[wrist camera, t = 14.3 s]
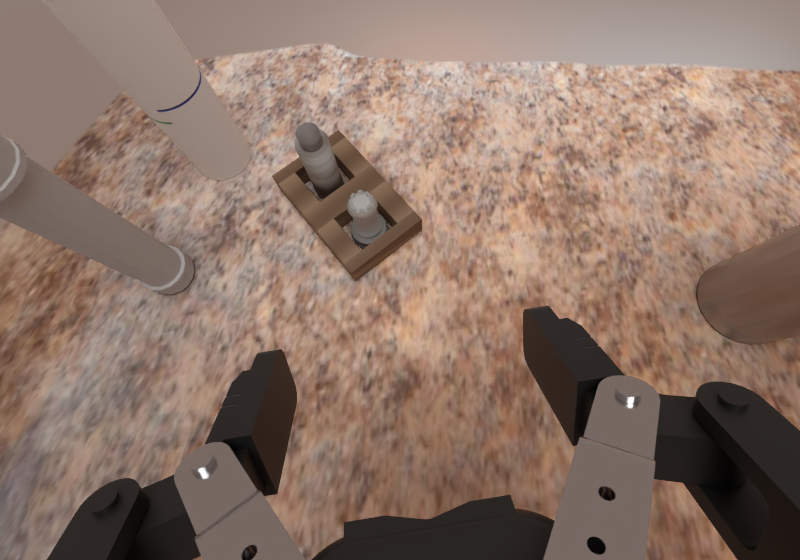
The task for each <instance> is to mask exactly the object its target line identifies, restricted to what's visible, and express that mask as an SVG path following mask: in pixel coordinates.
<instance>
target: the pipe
mask: <svg viewBox="0 0 800 560" xmlns="http://www.w3.org/2000/svg"><path fill="white" fill-rule="evenodd" d="M0 218H2V219H4V220H6V221H9V222H11V223H13V224H15V225H18V226H20V227H22V228H24V229H26V230H29V231H31V232H33V233H35V234H37V235H40V236H42V237H44V238H46V239H49V240H51V241H53V242H55V243H57V244H60V245H62V246H64V247H66V248H69V249H71V250H73V251H75V252H77V253H80V254H82V255H84V256H86V257H88V258H91V259H93V260H95V261H97V262H100V263H102V264H104V265H106V266H108V267H111V268H113V269H115V270H117V271H119V272H122V273H124V274H126V275H128V276H131V277H133V278H135V279H137V280H139V281H140V282H141V284H142V285H143V286H144V287H146V288H148V289H150V290H153V291H158V292H160V293H162V294H175V293H178V292H180V291H182V290H184V289H185V288H186V287H187V286H188V285H189V284H190V282H191V281H192V279H193V276H194V271H195V270H194V266H193V262H192V261H191V260H190V258H189V257H188V256H187V255H185V254H184V253H183V252H182V251H181V250H180V249H178V248H176V247H174V246H171V245H165V244H163V243H162V242H160V241H159V240H157V239H156V238H154V237H152V236H151V235H149V234H148V233H146V232H145V231H143V230H141V229H140V228H138V227H137V226H135V225H134V224H132V223H130V222H129V221H127V220H126V219H124V218H123V217H121V216H119V215H118V214H116V213H115V212H113V211H112V210H110V209H108V208H107V207H105V206H104V205H102V204H101V203H99V202H97V201H96V200H94V199H93V198H91V197H90V196H88V195H86V194H85V193H83V192H82V191H80V190H79V189H77V188H75V187H74V186H72V185H71V184H69V183H68V182H66V181H64V180H63V179H61V178H60V177H58V176H57V175H55V174H53V173H52V172H50V171H49V170H47V169H46V168H44V167H42V166H41V165H39V164H38V163H36V162H35V161H33V160H31V159H30V158H28V157H27V156H26V153H25V152H24V150H23V149H22V148H21V147H20V145H19V144H18V143H16V142H15V141H13V140H11V139H9V138H7V137H4V136H2V135H0Z"/></svg>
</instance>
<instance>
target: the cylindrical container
mask: <svg viewBox="0 0 800 560" xmlns="http://www.w3.org/2000/svg"><path fill="white" fill-rule="evenodd" d="M41 1H42V2H43V3H44V4H45V5H46V6H47V7H48V9H50V11H51V12H52V13H53V14H54V15H55V16H56V17H57V18H58V19H59V20H60V21H61V22H62V24H63V25H64V26H65V27H66V28H67V29H68V30H69V31H70V32H71V33H72V34H73V35H74V36H75V38H76V39H77V40H78V41H79V42H80V43H81V44H82V45H83V46H84V47H85V48H86V49H87V50H88V51H89V53H90V54H91V55H92V56H93V57H94V58H95V59H96V60H97V61H98V62H99V63H100V64H101V65H102V66H103V67H104V69H105V70H106V71H107V72H108V73H109V74H110V75H111V76H112V77H113V78H114V79H115V80H116V81H117V83H118V84H119V85H120V86H121V87H122V88H123V89H124V90H125V91H126V92H127V93H128V94H129V95H130V96H131V98H132V99H133V100H134V101H135V102H136V103H137V104H138V105H139V106H140V107H141V108H142V109H143V110H144V111H145V113H146V114H147V115H148V116H149V117H150V118H151V119H152V120H153V121H154V122H155V123H156V124H157V125H158V126H159V128H160V129H161V130H162V131H163V132H164V133H165V134H166V135H167V136H168V137H169V138H170V139H171V140H172V142H173V143H174V144H175V145H176V146H177V147H178V148H179V149H180V150H181V151H182V152H183V153H184V154H185V155H186V157H187V158H188V159H189V160H190V161H191V162H192V163H193V164H194V165H195V166H196V167H197V168H198V169H199V170H200V172H201V173H202V174H203V175H205V176H206V177H208V178H210V179H213V180H227V179H230V178H233V177H235V176H237V175H238V174H240V173H241V172H242V171H243V170H244V169H245V168H246V166H247V165H248V163H249V161H250V157H251V150H250V146H249V144H248V142H247V141H246V139H245V138H244V136H243V135H242V133H241V132H240V130H239V129H238V127H237V126H236V124H235V123H234V121H233V119H232V118H231V116H230V115H229V113H228V112H227V110H226V109H225V107H224V106H223V104H222V103H221V101H220V100H219V98H218V97H217V95H216V93H215V92H214V90H213V89H212V87H211V86H210V84H209V83H208V81H207V80H206V78H205V77H204V75H203V74H202V72H201V70H200V69H199V67H198V66H197V64H196V63H195V61H194V60H193V58H192V57H191V56H190V54H189V52H188V51H187V49H186V48H185V46H184V44H183V43H182V41H181V40H180V38H179V37H178V36H177V34H176V32H175V31H174V29H173V28H172V26H171V25H170V23H169V22H168V20H167V18H166V17H165V16H164V14H163V12H162V11H161V9H160V8H159V6H158V5H157V3H156V2H155V0H41Z"/></svg>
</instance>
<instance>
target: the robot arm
mask: <svg viewBox="0 0 800 560" xmlns="http://www.w3.org/2000/svg"><path fill="white" fill-rule="evenodd" d="M697 298H698V303H699V306H700V309H701V311H702V313H703V315H704V317H705V318H706V320H707V321H708V322H709V323H710V324H711V325H712V326H713V328H714V329H716V330H717V331H718V332H720V333H721V334H722V335H724V336H726V337H728V338H730V339H732V340H735V341H738V342H741V343H747V344H759V343H765V342H771V341H776V340H781V339H787V338H792V337H798V336H800V225H798V226H796V227H794V228H792V229H790V230H787V231H785V232H783V233H781V234H779V235H777V236H775V237H773V238H771V239H769V240H767V241H765V242H763V243H761V244H759V245H756V246H754V247H752V248H750V249H748V250H746V251H744V252H742V253H740V254H737V255H735V256H733V257H731V258H729V259H727V260H725V261H723V262H721V263H719V264H717V265H715V266H713V267H711V268H710V269H709V270H707V271H706V272H705V273H704V275H703V276H702V278H701V279H700V281H699V285H698V289H697ZM523 349H524V356H525V359H526V362H527V365H528V367H529V369H530V371H531V372H532V374H533V376H534V378H535V379H536V381H537V383H538V385H539V387H540V388H541V390H542V392H543V394H544V395H545V397H546V399H547V401H548V403H549V404H550V406H551V408H552V410H553V411H554V413H555V415H556V417H557V419H558V420H559V422H560V424H561V426H562V427H563V429H564V431H565V433H566V434H567V436H568V438H569V440H570V442H571V443H572V445H573V446H575V445H577V448H576V451H575V454H574V458H573V461H572V465H571V468H570V471H569V475H568V478H567V481H566V485H565V488H564V491H563V495H562V498H561V502H560V505H559V508H558V512H557V515H556V518H555V521H554V520H552V519H550V518H548V517H545V516H543V515H541V514H538V513H535V512H531V511H527V510H522V509H515V507H514V504H513V501H512V499H511V496H510V495H506V496H500V497H494V498H488V499H482V500H476V501H470V502H468V503H465V504H463V505H461V506H459V507H456V508H454V509H452V510H450V511H448V512H445V513H443V514H441V515H439V516H436V517H434V518H432V519H414V518H404V517H394V516H380V517H374V518H368V519H362V520H356V521H350V522H344V537H343V538H341V539H339V540H337V541H335V542H334V543H332V544H330V545H329V546H327V547H326V548H325V549H323V550H322V551H321V552H319V553H318V554H317V555H316V556H315V557H314V558H313V559H312V560H645V557H646V547H647V538H648V528H649V519H650V510H651V500H652V491H653V482H654V479H659V480H666V481H674V482H682V483H684V485H685V486H686V488H687V489H688V490H689V492H690V493H691V495H692V496H693V497H694V499H695V500H696V502H697V503H698V504H699V506H700V507H701V509H702V510H703V511H704V513H705V514H706V516H707V517H708V519H709V520H710V521H711V523H712V524H713V526H714V527H715V528H716V530H717V531H718V533H719V534H720V535H721V537H722V538H723V540H724V541H725V542H726V544H727V545H728V547H729V548H730V550H731V551H732V552H733V554H734V555H735V557H736V558H737V559H738V560H800V431H799V430H798V429H797V428H796V427H795V426H794V425H792V424H791V423H790V422H789V421H788V420H787V419H786V418H785V417H783V416H782V415H781V414H780V413H779V412H778V411H777V410H775V409H774V408H773V407H772V406H771V405H770V404H769V403H767V402H766V401H765V400H764V399H763V398H762V397H760V396H759V395H758V394H756V393H754V392H753V391H751V390H749V389H747V388H744V387H742V386H739V385H736V384H732V383H726V382H709V383H705V384H703V385H701V386H700V387H699V388H698V390H697V392H696V396H695V397H685V396H671V395H662V394H658V393H657V391H656V390H655V389H654V388H653V387H652V386H650V385H649V384H647V383H646V382H644V381H642V380H640V379H637V378H634V377H630V376H625V375H624V374H623V373H622V372H621V370H620V369H619V368H618V367H617V366H616V365H615V364H614V362H613V361H612V360H611V359H610V358H609V357H608V356H607V354H606V353H605V352H604V351H603V350H602V349H601V348H600V346H599V347H598V344H597V343H596V342H595V341H594V340H593V338H591V337H590V335H589V334H588V333H587V331H586V330H585V329H584V328H583V327H582V326H581V325H579V324H577V323H576V322H574V321H572V320H570V319H568V318H564V319H559V318H558V317H557V315H556V314H555V313H554V312H553V310H552V309H551V308H550V307H549V306H543V307H537V308H531V309H525V310H524V312H523ZM226 396H227V398H225V400H224V402H223V404H222V408H221V409H220V411H219V413H218V416H217V418H216V420H215V422H214V425H213V427H212V429H211V431H210V434H209V436H208V438H207V440H206V443H205V445H203V446H201V447H199V448H197V449H195V450H194V451H192V452H191V453H190V454H188V455H187V456H186V457H185V458H184V459H183V460H182V462H181V463H180V464H179V466H178V467H177V469H176V472H175V474H174V475H172V476H170V477H168V478H166V479H163V480H161V481H159V482H156V483H154V484H152V485H149V486H147V487H144V488H142V489H141V487H140V486H139V484H138V483H137V482H136V481H135V480H134V479H130V478H124V479H119V480H116V481H113V482H110V483H108V484H106V485H105V486H103V487H101V488H100V489H98V490H97V491H95V492H94V493H93V494H92V495H91V496H89V497H88V498H87V499H86V500H85V501H84V502H83V504H82V505H81V506H80V507H79V509H78V510H77V512H76V513H75V515H74V517H73V518H72V520H71V521H70V523H69V525H68V526H67V528H66V530H65V531H64V533H63V534H62V536H61V538H60V539H59V541H58V543H57V544H56V546H55V547H54V549H53V551H52V552H51V554H50V556H49V557H48V559H47V560H193V559H195V558H197V557H199V556H201V557H202V559H203V560H305V559H304V557H303V556H302V554H301V553H300V551H299V550H298V548H297V547H296V545H295V543H294V542H293V540H292V539H291V537H290V536H289V534H288V533H287V531H286V530H285V528H284V526H283V525H282V523H281V522H280V520H279V519H278V517H277V516H276V514H275V513H274V511H273V509H272V508H271V506H270V505H269V503H268V502H267V500H266V499H265V497H264V496H267V495H273V494H277V493H278V488H279V483H280V479H281V474H282V469H283V465H284V460H285V455H286V451H287V446H288V441H289V437H290V432H291V427H292V423H293V418H294V414H295V409H296V404H297V392H296V386H295V383H294V380H293V377H292V374H291V371H290V369H289V366H288V363H287V360H286V357H285V354H284V352H283V351H282V350H281V349H280V350H274V351H268V352H262V353H258V354H257V355H256V357H255V359H254V362H253V364H252V367H251V369H250V370H247V371H243V372H242V373H241V374H240V375H239V376H238V377H237V378H236V379H235V380H234V381H233V382H232V384H231V386H230V389H229V391H228V393H227V395H226Z"/></svg>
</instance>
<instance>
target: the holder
mask: <svg viewBox="0 0 800 560" xmlns="http://www.w3.org/2000/svg"><path fill="white" fill-rule="evenodd" d="M296 137H297V138H296V140H295V149H296V151H297V153H298V155H299V158H298V159H296V160H295V161H293V162H292V163H290V164H289V165H287V166H286V167H285V168H283V169H282V170H280V171H279V172H277V173H276V174H274V175H273V176H272V177H273V179H274V180H275V182H276V183H277V185H278V186H279V188H280V190H281V191H282V192H283V193H284V194H285V196H286V197H287V198H288V199H289V201H290V202H291V203H292V204H293V205H294V207H295V208H296V209H297V210H298V212H299V213H300V214H301V215H302V216H303V218H304V219H305V220H306V221H307V223H308V224H309V225H310V226H311V227H312V229H313V230H314V231H315V232H316V234H317V235H318V236H319V237H320V238H321V240H322V241H323V242H324V243H325V245H326V246H327V247H328V248H329V249H330V251H331V252H332V253H333V254H334V256H335V257H336V258H337V259H338V260H339V262H340V263H341V264H342V265H343V267H344V268H345V269H346V270H347V271H348V273H349V274H350V275H351V276H352V277H353V279H354V280H355V281H357V280H358V279H359V278H361V277H362V276H363V275H365V274H366V273H367V272H368V271H370V270H371V269H372V268H374V267H375V266H376V265H378V264H379V263H380V262H381V261H383V260H384V259H385V258H387V257H388V256H389V255H390V254H392V253H393V252H394V251H396V250H397V249H398V248H400V247H401V246H402V245H403V244H405V243H406V242H407V241H409V240H410V239H411V238H413V237H414V236H415V235H416V234H418V233H419V232H420V231H422V219H421V218H420V217H419V216H418V215H417V214H416V213H415V212H414V211H413V209H412V208H411V207H410V206H409V205H408V204H407V203H406V202H405V201H404V200H403V199H402V198H401V197H400V196H399V194H398V193H397V192H396V191H395V190H394V189H393V188H392V187H391V186H390V185H389V184H388V183H387V182H386V180H385V179H384V178H383V177H382V176H381V175H380V174H379V173H378V172H377V171H376V170H375V169H374V168H373V167H372V165H371V164H370V163H369V162H368V161H367V160H366V159H365V158H364V157H363V156H362V155H361V154H360V153H359V151H358V150H357V149H356V148H355V147H354V146H353V145H352V144H351V143H350V142H349V141H348V140H347V139H346V138H345V136H344V135H343V134H342V133H341V132H340V131H339V130H338V131H337V132H335V133H334V134H332V135H331V136H329V137H328V136H327V135H326V133H325V132H324V131H322V130H320V129H319V128H318V127H317V126H316V125H315V124H313V123H305V124H302V125H301V126H299V127H298V129H297V130H296ZM338 167H339V168H340V169H341V170H342V171H343V172H344V174H345V175H346V176H347V177H348V178H349V179H350V180H349V181H348V182H347V183H345V184H344V183H343V180H342V177H341V174H340V171H339V168H338ZM309 180H311V182H312V184H313V186H314V188H315V190H316V192H317V194H318V196H319V197H320V198H322V199H323V200H322V201H320V202H319V201H318V199H317V198H316V197H315V196H314V195H313V193H312V192H311V191H310V190H309V189H308V188H307V186H306V185H305V183H306V182H308V181H309ZM357 190H362V191H365V192H366V191H368V192H369V193H371V194H372V195H374V196H375V198H376V200H377V204H378V207H377V210H378V212H379V213H380V214H381V215H382V216H383V217H384V218H385V219H386V220H387V222H388V223H389V224H390V225H391V226H392V228H390V229H389V230H388V231H387V232H385V233H384V234H383V235H381V236H380V237H379V238H377V239H376V240H375V241H373V242H372V243H371V244H369V245H368V246H367V247H365V248H364V249H363V250H360V249H359V248H358V247H357V245H356V244H355V243H354V242H353V241H352V240H351V238H350V237H349V236H348V235H347V234H346V232H345V231H344V230H343V229H342V227H343V226H344V225H346V224H347V223H348V222H350V221H351V220H353V218H352V216H351V215H350V214H349V213H348V211H347V202H348V199H349V198H350V195H351V194H352V193H354V194H355V193H357V192H358V191H357Z"/></svg>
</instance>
